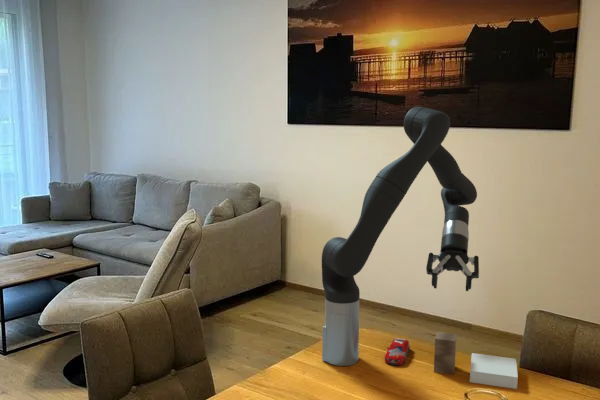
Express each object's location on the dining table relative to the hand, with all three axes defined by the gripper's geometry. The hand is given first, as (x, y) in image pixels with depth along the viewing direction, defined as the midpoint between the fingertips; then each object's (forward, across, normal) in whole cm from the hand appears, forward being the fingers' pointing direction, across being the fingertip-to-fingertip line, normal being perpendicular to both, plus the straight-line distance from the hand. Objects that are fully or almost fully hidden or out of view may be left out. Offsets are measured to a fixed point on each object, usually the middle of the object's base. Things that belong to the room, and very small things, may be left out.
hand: (451, 288), depth 153 cm
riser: (+21, +12, +5) cm, 25 cm away
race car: (+19, -13, +8) cm, 24 cm away
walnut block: (+21, 0, +4) cm, 22 cm away
